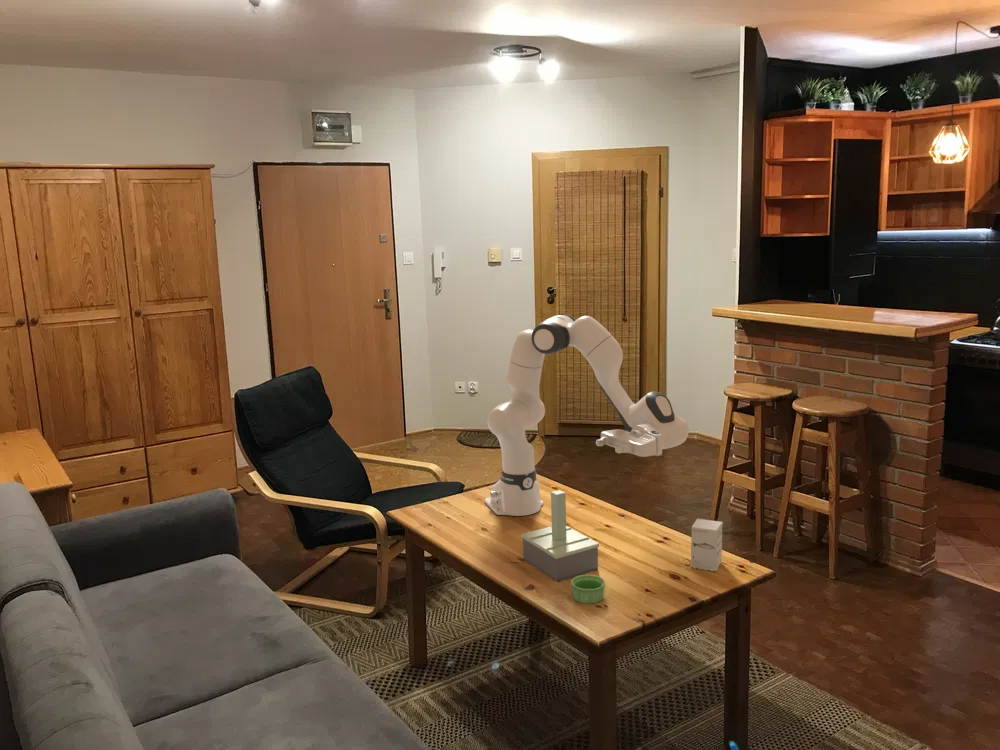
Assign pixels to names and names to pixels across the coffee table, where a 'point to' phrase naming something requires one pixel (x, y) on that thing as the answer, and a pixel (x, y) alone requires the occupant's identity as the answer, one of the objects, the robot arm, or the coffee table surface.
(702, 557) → the supplement box
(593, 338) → the robot arm
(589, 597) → the ramekin
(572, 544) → the grooved base with post
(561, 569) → the tub
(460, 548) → the coffee table surface
